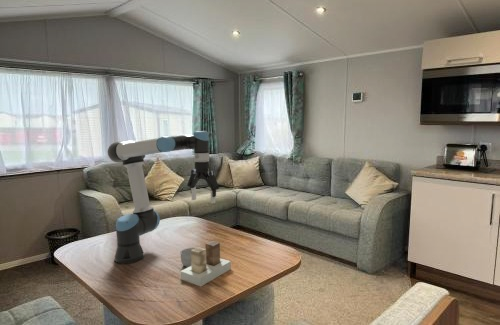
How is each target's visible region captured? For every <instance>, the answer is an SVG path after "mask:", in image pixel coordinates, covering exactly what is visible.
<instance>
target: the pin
mask: <svg viewBox="0 0 500 325" xmlns="http://www.w3.org/2000/svg"><path fill="white" fill-rule="evenodd" d="M194 248H195V249H193V250H191V267H192V272H195V273H198V274H201V273H202V272H204V271H206V270H207V265H206V248H203V247H200V246H197V247H194Z"/></svg>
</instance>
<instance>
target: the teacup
mask: <svg viewBox="0 0 500 325" xmlns="http://www.w3.org/2000/svg"><path fill="white" fill-rule="evenodd" d="M195 248H196V247H188V248H184V249H182V250H180V253H179V254H180V260H181V261H180V262H181V264H182V265H183V266H184V267H185V268H188V267H190V266H191V250H193V249H195Z"/></svg>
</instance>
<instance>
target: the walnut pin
mask: <svg viewBox="0 0 500 325" xmlns="http://www.w3.org/2000/svg"><path fill="white" fill-rule="evenodd" d="M204 244H205V249H206V264H208V265H211V266H215V265H217V264H219V263H220V258H221V244H220V242H219V241H214V240H211V241H208V242H207V243H204Z"/></svg>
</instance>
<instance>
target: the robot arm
mask: <svg viewBox="0 0 500 325" xmlns="http://www.w3.org/2000/svg"><path fill="white" fill-rule="evenodd" d="M209 142H210V138H209V132H208V131H207V130H198V131H193V134H178V135H164V136H160V137H157V138H156V137H155V138H151V139H145V140H144V139H142V140H126V141H115V142H113V143H112V144H110V145H109V146H108V148H107V156H108V158H109V159H110V160H111V161H112V162H114V163H122V166H123V167H124V168H125V169H126V171H127V177H128V181H129V185H130V191H131V196H132V201H133V206H134V207H133V208H134V209H133V211H132V213H129V214H124V215H121V216H120V217H118V218H117V219H116V222H115V230H116V231H115V232H116V243H117V245H116V250H115V254H114V262H115V261H116V262H115V263H117V262H118V264H121V263H127V264H132V263H136V262H139V261H141V260H142V259H144V257H145V254H144V252H145V251H144V250H143V247H142V246H141V240H140V239H141V238H140V236H143V235H145V234H148V233H150V232H152V231H154V230H156V229H157V228H158V227H159V225H160V221H161V220H160V219H161V218H160V215H159V213H158V212H157V211H156V210H155V209H154V207H153V206H152V205H151V203H150V199H149V194H148V189H147V183H146V178H145V173H144V169H143V164H144V162H145V160H144V159H145V158H146V156H147V155H148V156H149V155H154V154H155V155H156V154H160V153H169V152H176V151H183V150H194V161H195V162H194V169H191V171H190V175H189V179H188V182H187V187H189V188H190V194H191V201H195V200H197V187H196V185H197V184H198V182H199V180H204V181H205V182H206V183H207V185H208V187H209V188H210V204H215V203H216V197H217V190H220V186H219V183H218V181H217V179H216V176H215V172H214V170H211V171H210V161H209V160H210V151H209V149H210V147H209V144H210V143H209Z"/></svg>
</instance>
